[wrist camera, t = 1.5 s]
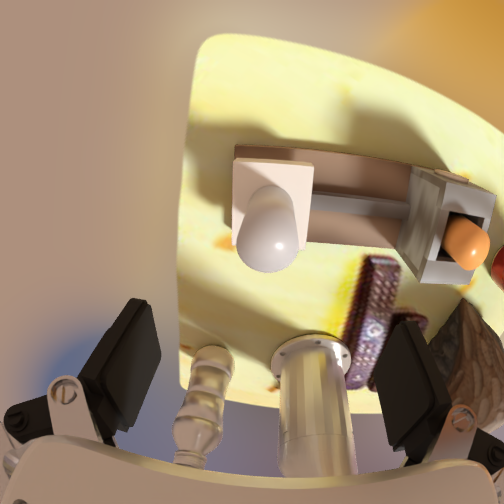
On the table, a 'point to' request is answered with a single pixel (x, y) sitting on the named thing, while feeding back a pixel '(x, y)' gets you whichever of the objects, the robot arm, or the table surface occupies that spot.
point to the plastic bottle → (203, 407)
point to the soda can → (498, 268)
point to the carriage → (270, 211)
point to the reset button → (465, 242)
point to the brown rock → (472, 365)
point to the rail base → (345, 182)
